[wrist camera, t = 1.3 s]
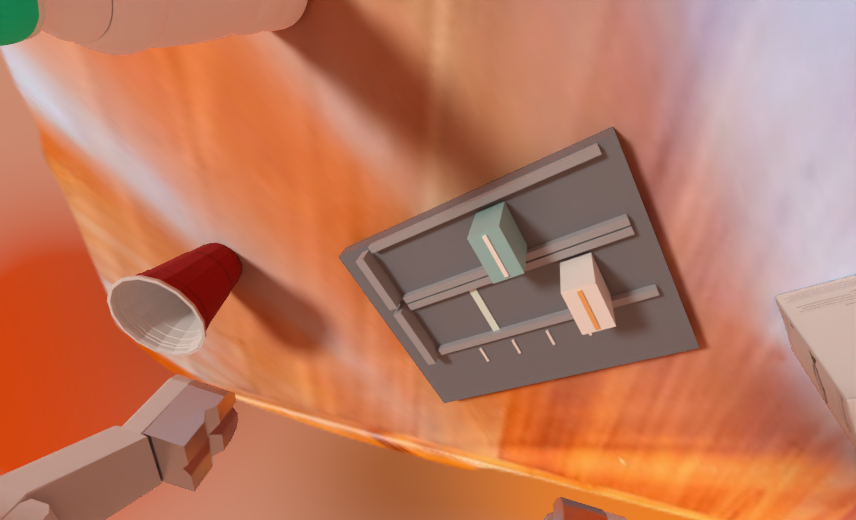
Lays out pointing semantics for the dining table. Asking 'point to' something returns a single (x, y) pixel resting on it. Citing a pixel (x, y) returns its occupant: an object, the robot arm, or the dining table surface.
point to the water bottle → (143, 21)
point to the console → (526, 278)
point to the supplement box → (826, 342)
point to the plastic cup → (175, 299)
